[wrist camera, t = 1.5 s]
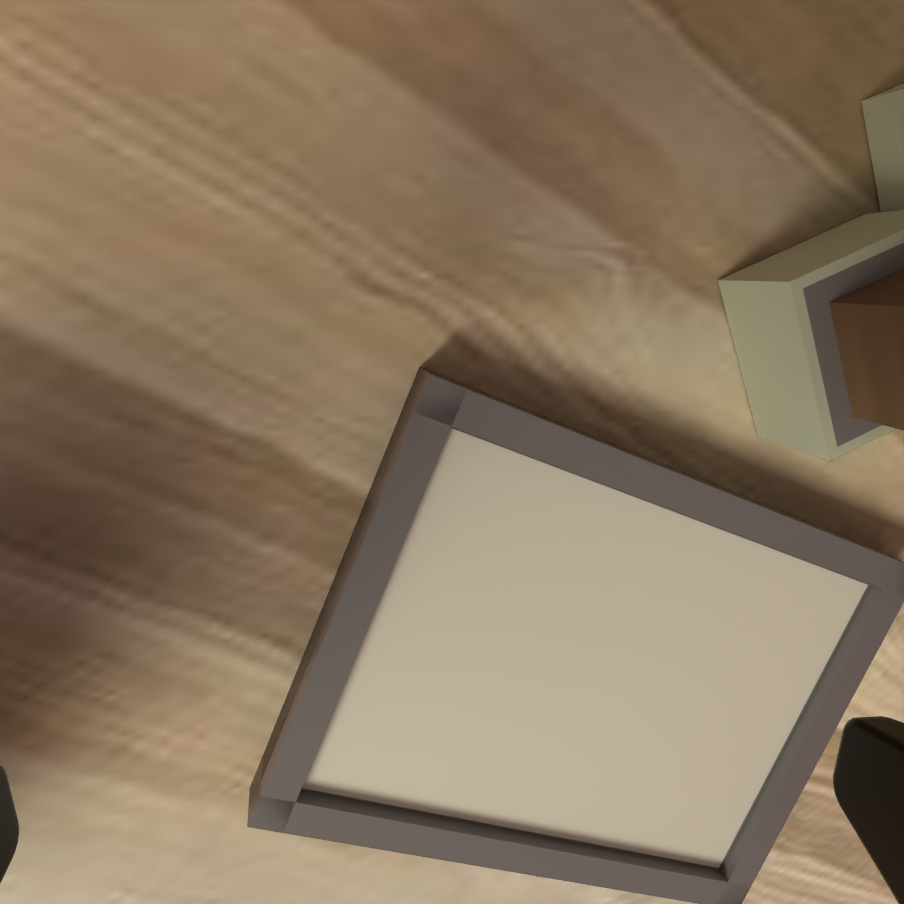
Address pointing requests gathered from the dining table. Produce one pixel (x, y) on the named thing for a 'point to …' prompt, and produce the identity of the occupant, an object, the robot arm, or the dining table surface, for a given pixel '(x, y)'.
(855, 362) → the wooden block
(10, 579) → the dining table surface
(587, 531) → the felt tray
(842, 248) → the tool chest
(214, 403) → the dining table surface
